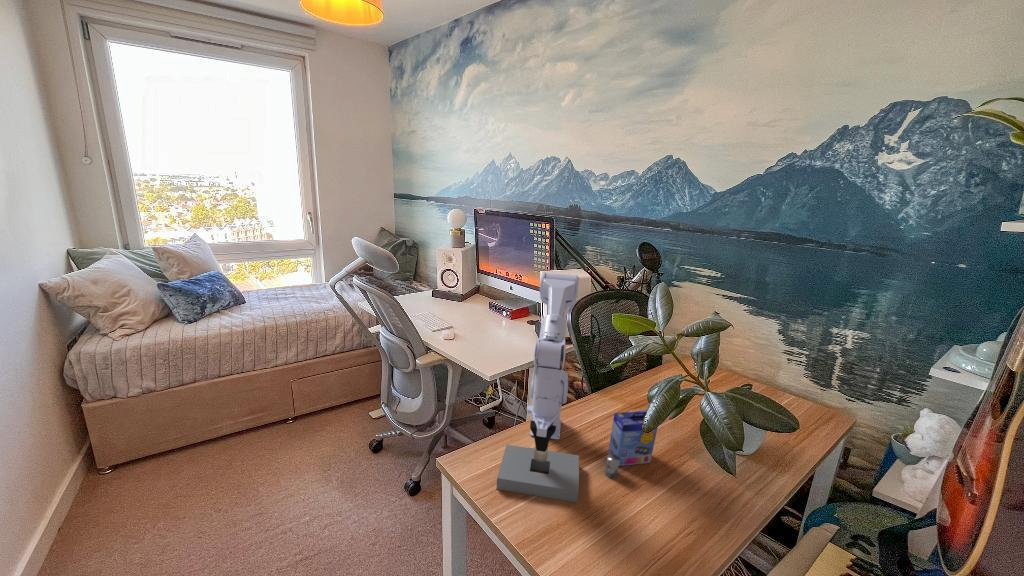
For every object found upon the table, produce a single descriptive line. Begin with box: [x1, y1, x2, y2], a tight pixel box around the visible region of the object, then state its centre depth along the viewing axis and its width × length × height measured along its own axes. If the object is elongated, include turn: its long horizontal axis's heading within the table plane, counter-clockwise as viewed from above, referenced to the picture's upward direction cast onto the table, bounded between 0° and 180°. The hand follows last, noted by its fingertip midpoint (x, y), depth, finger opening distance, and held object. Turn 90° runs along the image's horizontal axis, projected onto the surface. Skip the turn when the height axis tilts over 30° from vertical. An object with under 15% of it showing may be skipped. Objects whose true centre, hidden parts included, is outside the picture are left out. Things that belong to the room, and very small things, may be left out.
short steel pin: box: [604, 453, 620, 480], centre depth 98 cm, size 3×3×4 cm
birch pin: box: [534, 442, 550, 462], centre depth 94 cm, size 3×3×8 cm
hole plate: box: [496, 444, 580, 504], centre depth 96 cm, size 12×18×3 cm, turn 81°
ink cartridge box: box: [608, 409, 659, 467], centre depth 103 cm, size 10×6×14 cm, turn 103°
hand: (541, 445), depth 94 cm, fingers closed on birch pin, 3 cm apart
